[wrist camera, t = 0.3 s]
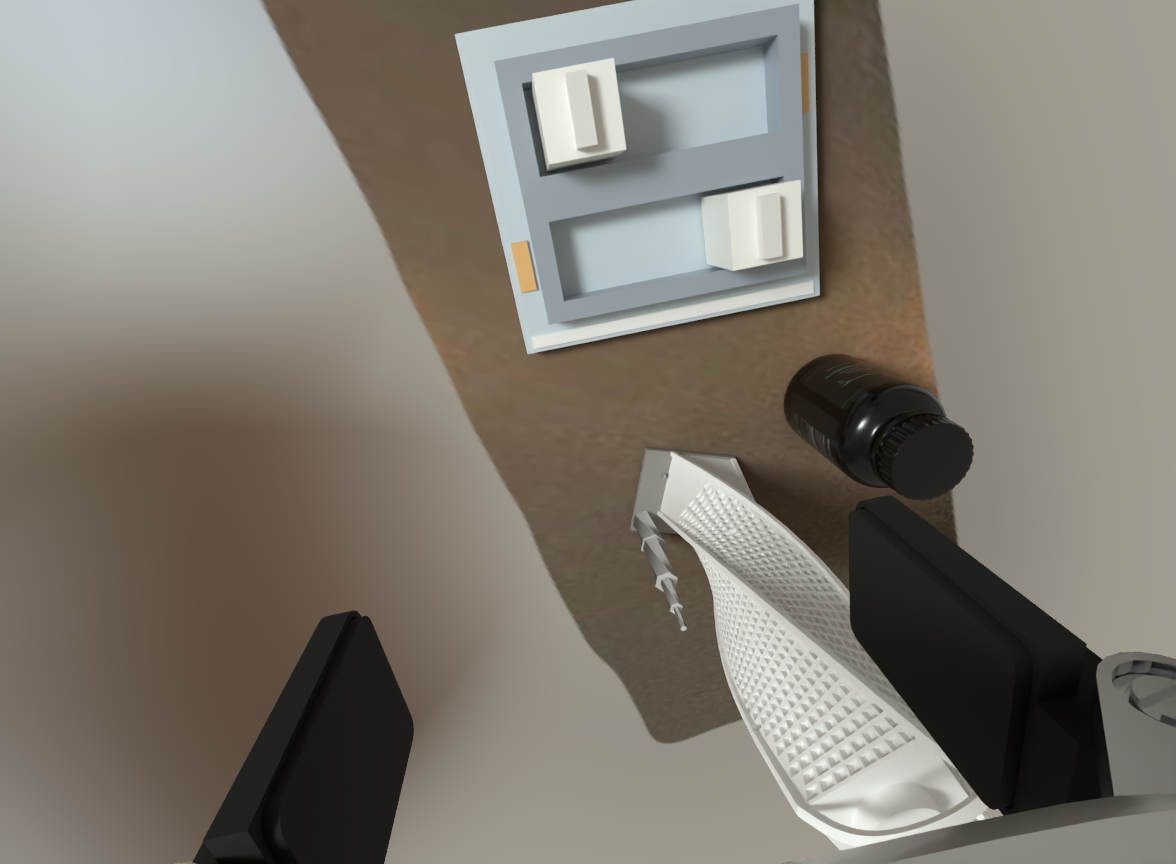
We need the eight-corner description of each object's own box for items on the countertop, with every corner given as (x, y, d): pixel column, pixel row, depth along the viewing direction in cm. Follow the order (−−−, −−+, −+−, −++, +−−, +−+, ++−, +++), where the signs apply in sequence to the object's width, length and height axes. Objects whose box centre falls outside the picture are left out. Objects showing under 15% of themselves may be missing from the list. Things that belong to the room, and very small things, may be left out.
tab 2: (700, 197, 34) (732, 193, 28) (763, 184, 34) (807, 178, 28) (706, 263, 35) (738, 272, 30) (767, 252, 35) (809, 258, 30)
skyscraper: (649, 429, 41) (852, 797, 15) (751, 439, 42) (1107, 799, 16) (630, 527, 44) (772, 977, 18) (726, 534, 45) (992, 968, 19)
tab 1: (532, 94, 31) (532, 68, 26) (601, 81, 31) (616, 52, 26) (546, 172, 32) (549, 163, 27) (612, 159, 32) (628, 147, 27)
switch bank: (458, 42, 31) (449, 21, 28) (800, -22, 32) (831, -50, 28) (527, 349, 38) (527, 361, 35) (809, 292, 38) (835, 299, 35)
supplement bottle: (854, 441, 43) (967, 519, 32) (771, 436, 42) (857, 514, 31) (880, 356, 41) (1011, 408, 29) (792, 348, 40) (894, 399, 29)
